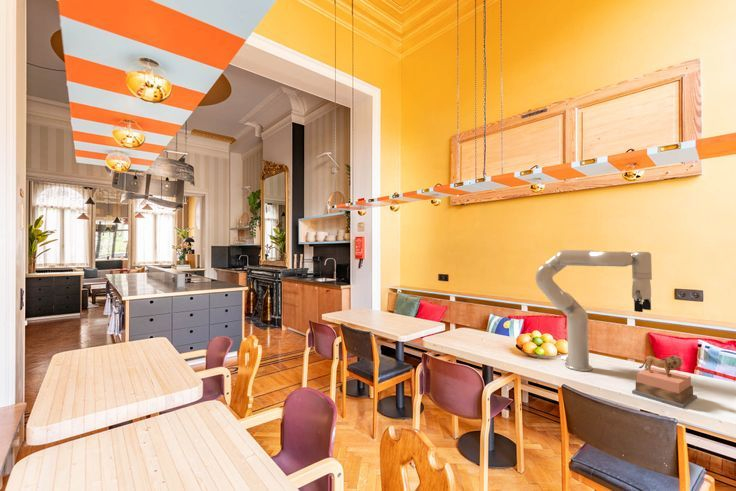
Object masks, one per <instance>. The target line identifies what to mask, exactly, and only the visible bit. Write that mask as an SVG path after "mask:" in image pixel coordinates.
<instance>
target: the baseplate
mask: <svg viewBox="0 0 736 491" xmlns="http://www.w3.org/2000/svg"><path fill="white" fill-rule="evenodd" d="M631 394H633V395H636V396H640V397H642V398H647V399H650V400H653V401H656V402H659V403H664V404H667V405H669V406H673V407H677V408H680V409H685V408H686V407H688V406H689V405H690V404H692V403H693V402H695V401H696V400H697V399H698V395H696V394H693V396H692V397H690V398H689V399H687V400H686V401H684V402H683V403H681V404H679V403H675V402H672V401H669V400H665V399H662V398H658V397H655V396H651V395H648V394H645V393H641V392H638V391H636V388H635V389H632V390H631Z"/></svg>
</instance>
